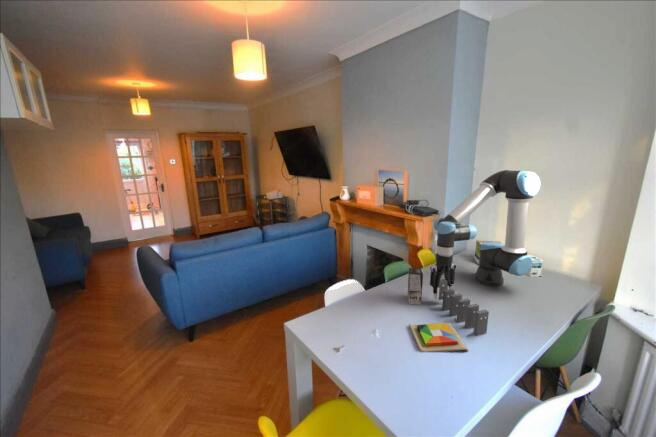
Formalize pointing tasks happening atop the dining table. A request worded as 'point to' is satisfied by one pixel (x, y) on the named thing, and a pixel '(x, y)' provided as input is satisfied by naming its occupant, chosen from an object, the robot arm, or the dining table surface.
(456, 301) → the domino
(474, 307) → the domino
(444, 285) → the domino
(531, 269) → the light bulb box
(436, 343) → the wooden puzzle
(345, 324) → the dining table surface
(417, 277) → the coffee box
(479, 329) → the domino
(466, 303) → the domino
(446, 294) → the domino
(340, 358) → the dining table surface
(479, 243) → the tea box
